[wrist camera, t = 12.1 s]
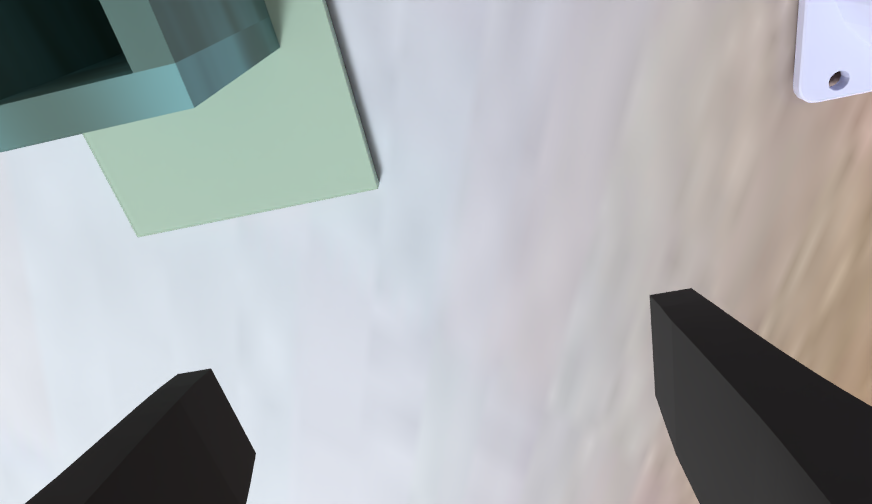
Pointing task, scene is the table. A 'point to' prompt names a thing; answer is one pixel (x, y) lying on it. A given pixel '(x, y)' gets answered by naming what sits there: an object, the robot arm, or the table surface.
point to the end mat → (247, 137)
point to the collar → (119, 61)
